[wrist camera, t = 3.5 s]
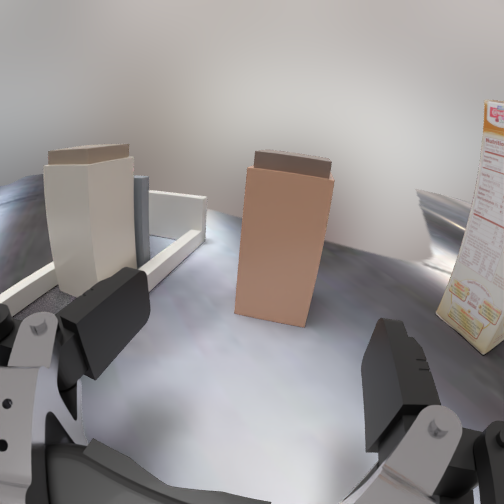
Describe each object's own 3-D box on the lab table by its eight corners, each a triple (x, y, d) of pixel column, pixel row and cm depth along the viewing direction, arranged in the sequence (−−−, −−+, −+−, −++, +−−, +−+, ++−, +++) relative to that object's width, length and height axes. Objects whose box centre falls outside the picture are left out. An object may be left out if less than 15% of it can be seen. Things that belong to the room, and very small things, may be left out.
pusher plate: (144, 273, 23) (141, 178, 20) (94, 260, 24) (87, 175, 21) (166, 255, 26) (167, 171, 23) (118, 245, 27) (115, 168, 24)
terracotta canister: (304, 327, 19) (337, 163, 15) (234, 313, 20) (249, 150, 16) (308, 292, 24) (332, 158, 19) (250, 281, 24) (264, 148, 20)
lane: (71, 369, 12) (45, 294, 10) (-4, 317, 14) (-23, 256, 12) (205, 240, 32) (207, 196, 30) (137, 228, 33) (136, 189, 31)
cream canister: (102, 307, 18) (87, 148, 14) (59, 290, 19) (43, 151, 15) (137, 277, 23) (134, 143, 18) (95, 266, 24) (88, 145, 19)
